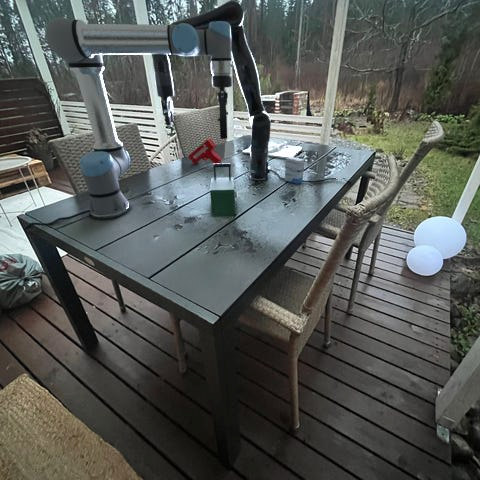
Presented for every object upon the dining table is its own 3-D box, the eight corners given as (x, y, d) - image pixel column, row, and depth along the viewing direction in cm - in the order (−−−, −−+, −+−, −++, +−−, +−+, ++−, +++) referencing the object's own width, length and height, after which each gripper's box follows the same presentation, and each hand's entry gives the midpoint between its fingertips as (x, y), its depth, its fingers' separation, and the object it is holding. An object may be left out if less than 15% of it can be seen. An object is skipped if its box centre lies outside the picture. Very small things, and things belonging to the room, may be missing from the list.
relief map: (291, 159, 177) (291, 151, 174) (243, 153, 190) (243, 145, 187) (302, 149, 197) (303, 142, 194) (258, 144, 211) (258, 137, 208)
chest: (213, 202, 122) (211, 180, 117) (234, 201, 123) (233, 180, 117) (211, 216, 111) (210, 193, 105) (234, 215, 111) (234, 192, 106)
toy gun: (225, 158, 166) (210, 137, 162) (223, 160, 163) (207, 139, 159) (205, 174, 176) (191, 154, 172) (202, 176, 173) (188, 156, 169)
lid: (212, 180, 117) (210, 161, 113) (233, 179, 118) (233, 161, 113) (210, 192, 105) (208, 172, 101) (234, 192, 106) (233, 172, 101)
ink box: (302, 181, 142) (305, 159, 136) (297, 184, 139) (300, 161, 133) (289, 177, 147) (291, 156, 141) (284, 180, 144) (285, 158, 138)
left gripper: (232, 75, 90) (233, 141, 102) (231, 74, 111) (232, 128, 123) (210, 76, 90) (213, 142, 102) (213, 74, 111) (215, 129, 123)
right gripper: (170, 85, 114) (175, 126, 123) (175, 83, 126) (179, 120, 135) (152, 85, 114) (159, 126, 123) (159, 83, 126) (164, 121, 135)
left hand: (224, 135), depth 112 cm, fingers open, 13 cm apart
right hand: (170, 123), depth 129 cm, fingers open, 8 cm apart
